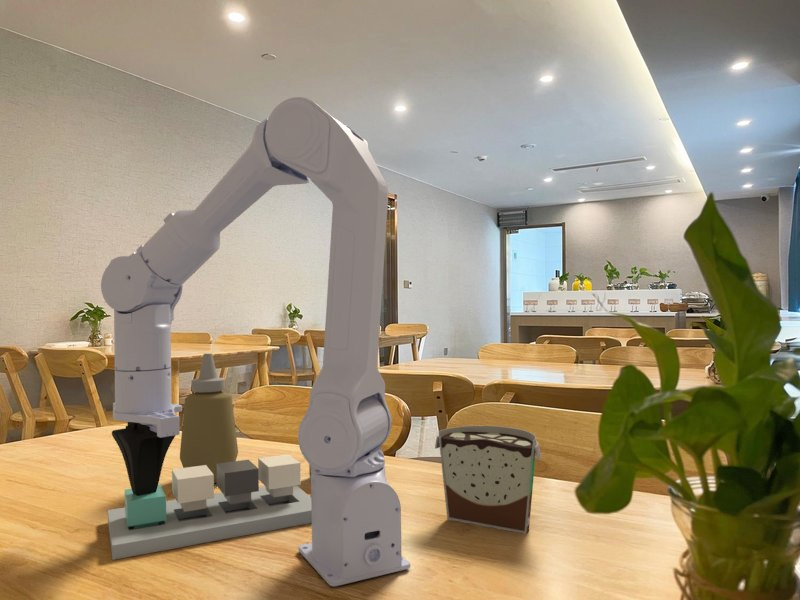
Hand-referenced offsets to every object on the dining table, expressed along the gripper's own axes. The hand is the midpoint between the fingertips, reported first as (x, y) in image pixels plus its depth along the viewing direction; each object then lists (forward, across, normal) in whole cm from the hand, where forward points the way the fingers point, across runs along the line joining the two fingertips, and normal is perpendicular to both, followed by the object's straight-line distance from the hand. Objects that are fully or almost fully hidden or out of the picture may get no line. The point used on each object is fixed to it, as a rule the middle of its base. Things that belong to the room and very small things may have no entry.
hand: (144, 493), depth 67 cm
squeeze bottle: (+5, +15, -14) cm, 21 cm away
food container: (+5, -24, -31) cm, 39 cm away
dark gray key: (+2, -3, -10) cm, 10 cm away
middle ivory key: (+2, -1, -5) cm, 6 cm away
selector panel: (+4, -2, -7) cm, 9 cm away
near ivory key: (+2, -4, -14) cm, 15 cm away
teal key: (+4, 0, 0) cm, 4 cm away
